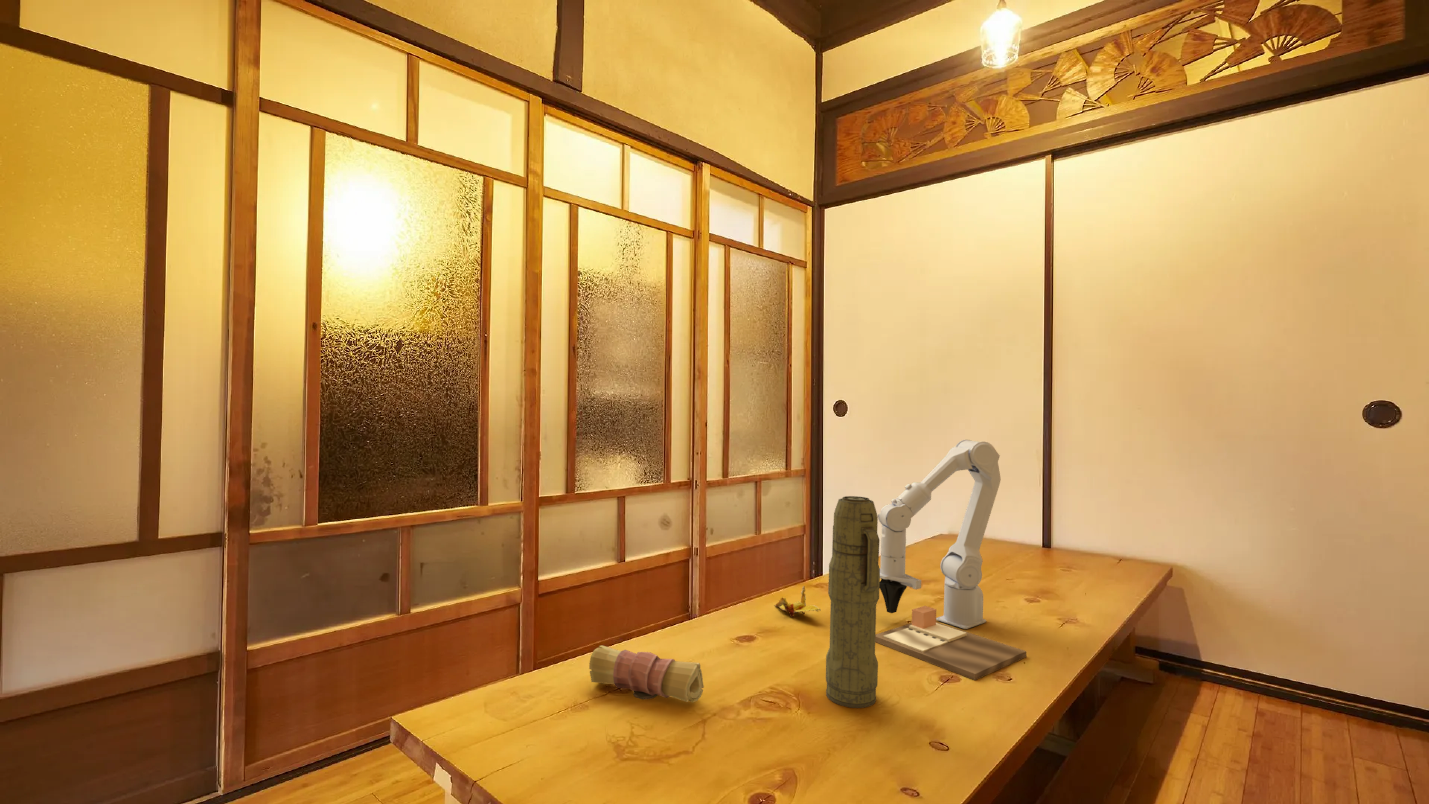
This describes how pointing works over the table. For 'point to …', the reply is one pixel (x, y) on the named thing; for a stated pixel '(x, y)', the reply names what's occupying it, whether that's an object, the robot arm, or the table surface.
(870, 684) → the thermos
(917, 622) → the stub
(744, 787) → the table surface
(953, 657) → the board
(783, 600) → the origami crane
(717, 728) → the table surface
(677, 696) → the scroll
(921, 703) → the table surface
